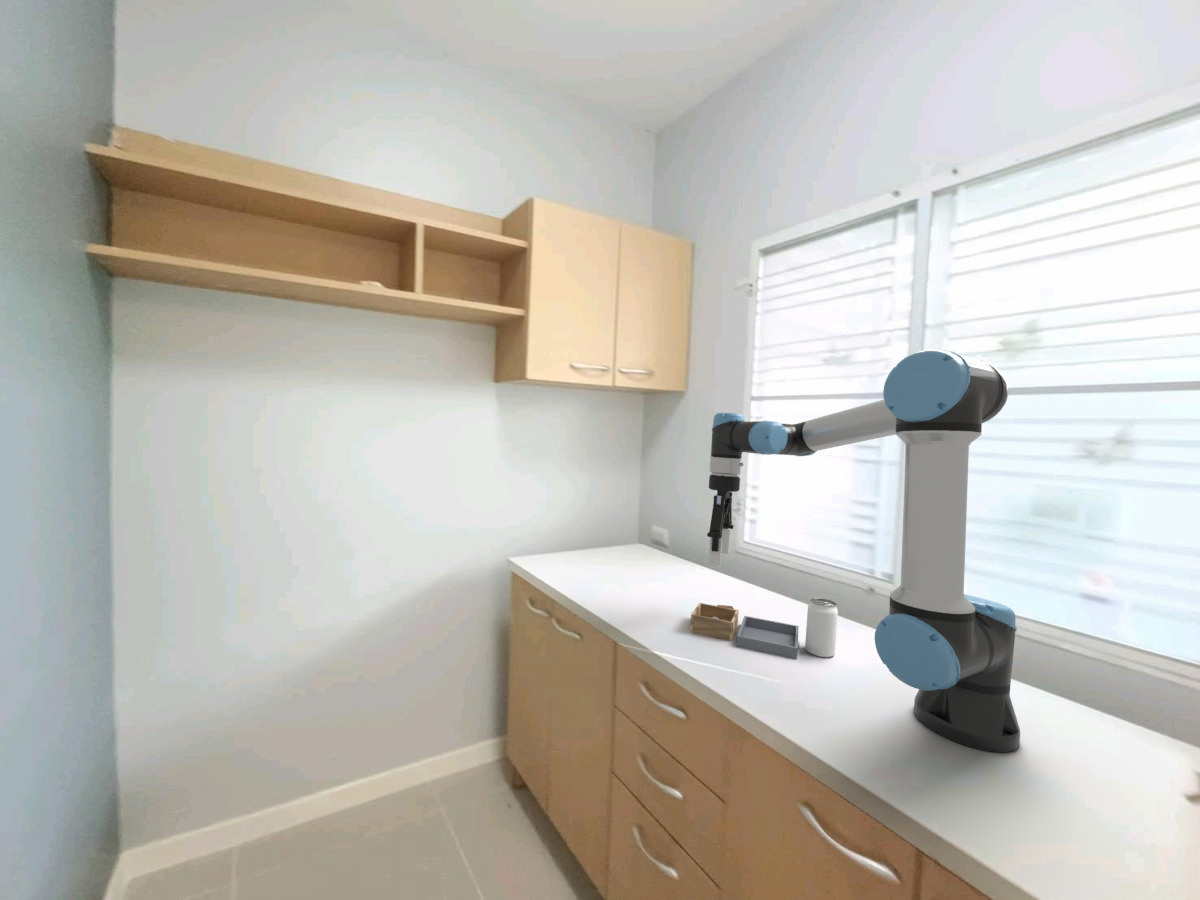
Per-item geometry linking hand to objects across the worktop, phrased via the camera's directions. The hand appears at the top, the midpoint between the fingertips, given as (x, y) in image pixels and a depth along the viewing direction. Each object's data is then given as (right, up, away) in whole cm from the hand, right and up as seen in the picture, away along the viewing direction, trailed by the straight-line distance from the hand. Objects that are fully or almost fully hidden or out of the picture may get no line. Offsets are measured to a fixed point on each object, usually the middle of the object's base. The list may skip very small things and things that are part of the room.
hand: (719, 558), depth 124 cm
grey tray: (+11, -20, -5) cm, 23 cm away
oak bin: (-1, -19, +1) cm, 19 cm away
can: (+22, -21, -8) cm, 31 cm away
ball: (-1, -18, 0) cm, 18 cm away
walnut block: (+4, -19, +8) cm, 21 cm away
